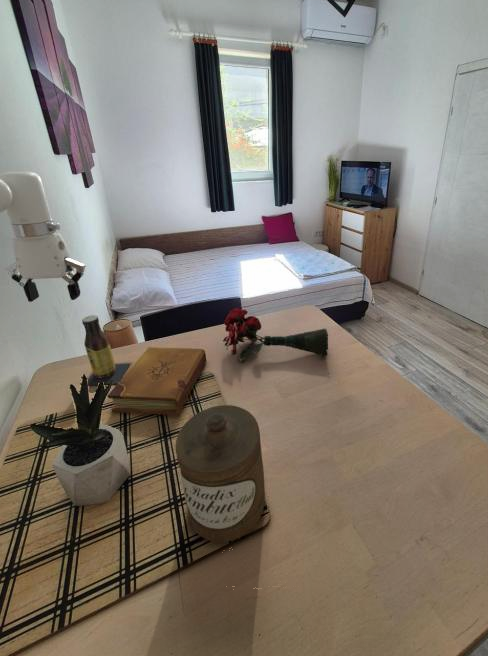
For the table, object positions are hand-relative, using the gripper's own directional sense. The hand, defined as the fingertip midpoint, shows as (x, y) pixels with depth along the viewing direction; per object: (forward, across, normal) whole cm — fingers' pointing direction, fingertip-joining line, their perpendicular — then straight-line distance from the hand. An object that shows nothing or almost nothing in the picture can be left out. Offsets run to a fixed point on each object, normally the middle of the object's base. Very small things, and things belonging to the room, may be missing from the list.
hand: (55, 298), depth 80 cm
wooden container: (+31, -42, +34) cm, 62 cm away
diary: (+31, -21, -4) cm, 38 cm away
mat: (+31, -2, -11) cm, 33 cm away
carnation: (+30, -55, -18) cm, 65 cm away
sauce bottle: (+31, -1, -11) cm, 33 cm away
